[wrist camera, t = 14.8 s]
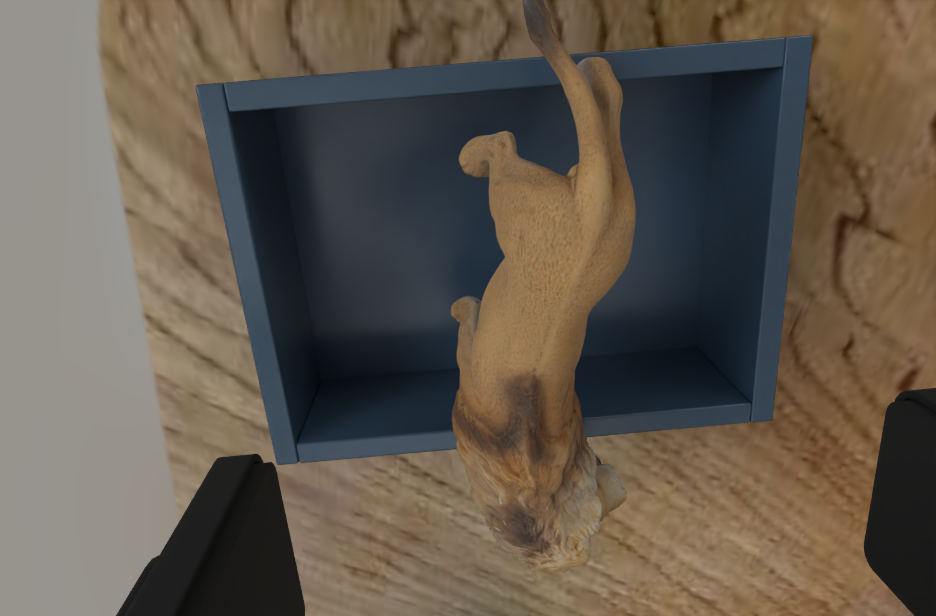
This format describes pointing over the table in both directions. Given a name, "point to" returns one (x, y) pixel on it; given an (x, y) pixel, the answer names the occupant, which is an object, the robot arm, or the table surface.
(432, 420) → the dark blue storage bin
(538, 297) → the lion figurine
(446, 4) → the table surface
